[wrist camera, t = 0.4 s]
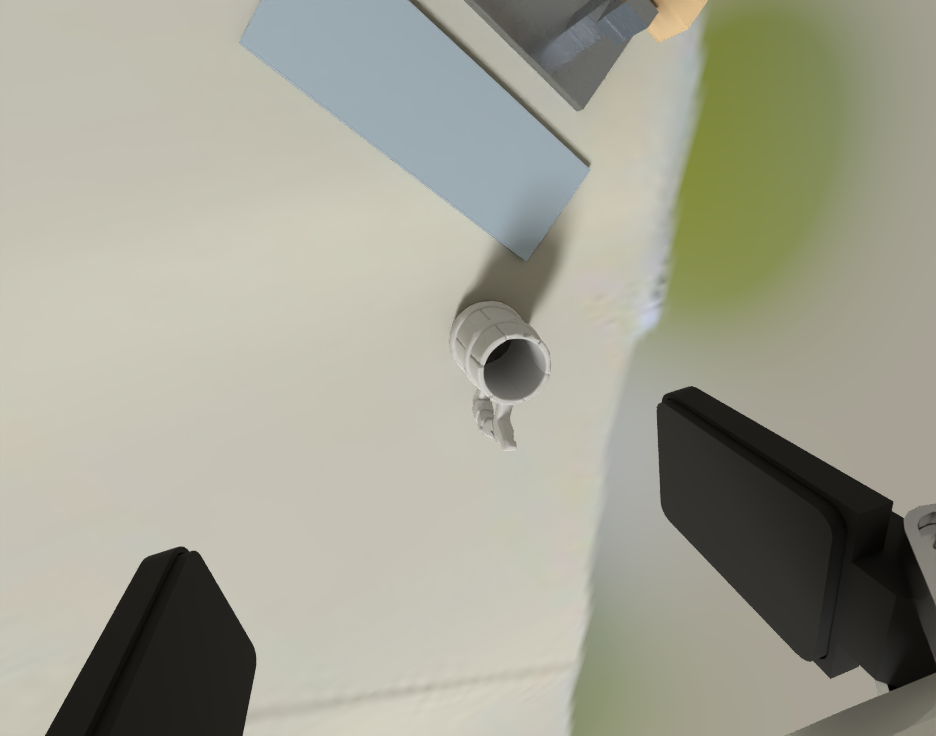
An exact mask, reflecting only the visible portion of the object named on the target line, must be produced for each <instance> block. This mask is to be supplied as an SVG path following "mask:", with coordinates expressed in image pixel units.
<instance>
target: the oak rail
mask: <svg viewBox="0 0 936 736" xmlns="http://www.w3.org/2000/svg"><path fill="white" fill-rule="evenodd" d="M707 1H708V0H650V2H651V3H652V4H653V5H654V6H655V8H656V9H657V10H658V11H659V12H658V14H657V15H656V17H655V18H654V20H653V21H652V23H651V24H650V26H649V27H648V28H646V29H647V30H648V32H649V33H650V34H651V35H652V36H653V37H654V39H655V40H656V41H657V42H658V43H660V42H662V41H664V40H666V39H668V38H670V37H672V36H674V35H676V34H678V33H680V32H682V31H684V30H687V29H688V28H689V27H690V25H691V24H692V22H693V21H694V19H695V18H696V17H697V15H698V14H699V12H700V11H701V9H702V8H703V7H704V5H705V4H706V2H707Z"/></svg>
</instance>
